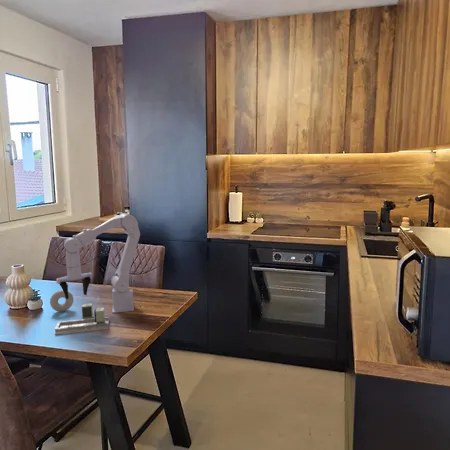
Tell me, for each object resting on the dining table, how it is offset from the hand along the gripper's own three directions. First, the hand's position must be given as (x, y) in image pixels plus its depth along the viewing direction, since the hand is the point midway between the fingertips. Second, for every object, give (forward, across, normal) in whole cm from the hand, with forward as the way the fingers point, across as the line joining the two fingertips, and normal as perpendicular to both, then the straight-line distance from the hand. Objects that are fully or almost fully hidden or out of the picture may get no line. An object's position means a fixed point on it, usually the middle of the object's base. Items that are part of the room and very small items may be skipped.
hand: (76, 296), depth 173 cm
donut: (+10, +3, -12) cm, 16 cm away
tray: (+10, +2, +13) cm, 16 cm away
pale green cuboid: (+10, -3, +4) cm, 11 cm away
